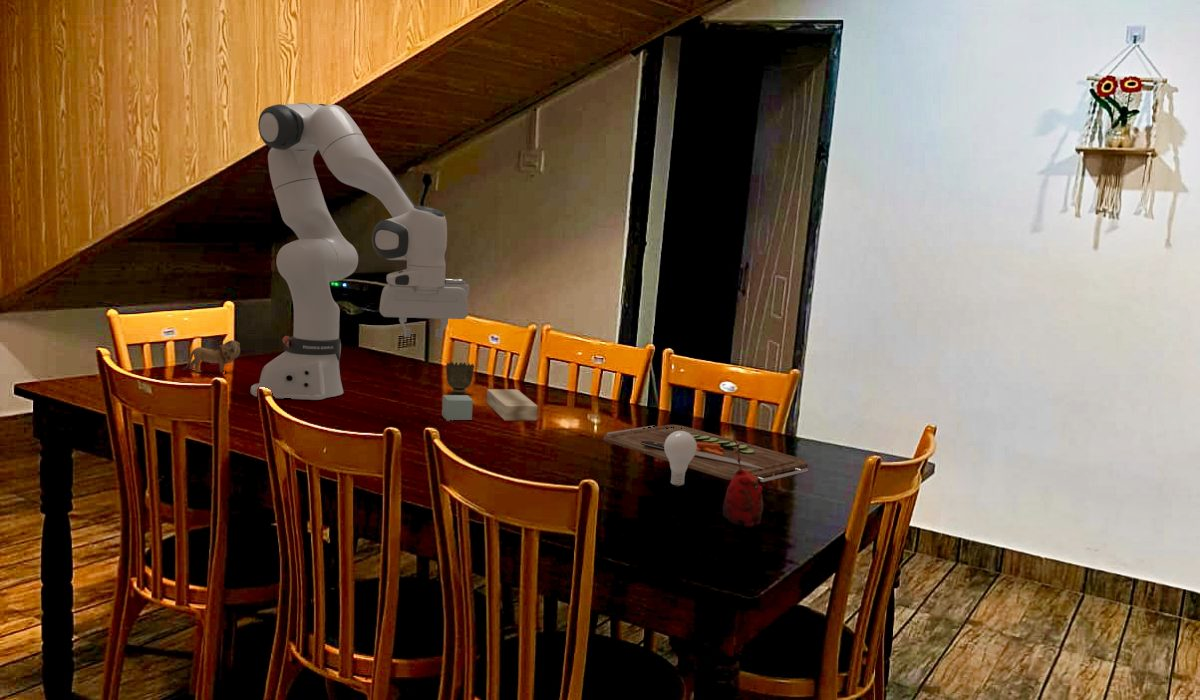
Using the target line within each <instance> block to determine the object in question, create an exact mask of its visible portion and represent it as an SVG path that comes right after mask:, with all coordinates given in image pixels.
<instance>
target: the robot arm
mask: <svg viewBox="0 0 1200 700" xmlns="http://www.w3.org/2000/svg"><path fill="white" fill-rule="evenodd" d="M257 126H258V127H257V128H258V133H259V135H260V139H261V140H262V141H263V143H264V144H265V145H266V146H268V147H270V149H269V151H268V154H267V163H268V172H269V176H270V180H271V186H272V189H273V193H274V196H275V198H276V203H277V206H278V208H279V212H280V215H281V219H282V221H283V222H284V224H285V225H286V226H287V227H289V228H290V229H291V230H292V231H293V233H294V234H295V235H296V237H297V238H298V239H296V240H293V241H291V242H290V241H289V243H286V244H284V245H283V246H281V248H280V249H279V250H278V253H277V255H276V263H275V264H276V268H277V271H278V273H279V274H280V276H281V277H282V278H283V280H284V281H285V282H286V283H287V285H288V288H289V291H290V292H289V293H290V296H291V300H292V304H293V335H292V336H289V335H285V336H284V337H282V339H281V340H282V343H283V344H284V352H282V353H281V354H279V355H277V357H275V358H273V359H272V360H271V361H269V362H267V363H266V364H265V365H264V366H263V368H262V370H261V373H260V378H259V383H254V384H253V385H251V387H250V394H251V395H252V396H254V397H256V398H258V397H257V389H258V387H265V388H268V389H270V390H271V391H272V393H273V396H274V397H275V398H274V399H284V398H291V399H292V400H310V401H319V400H324V399H327V398H332V397H337V396H341V395H343V394H344V389H343V384H342V380H341V374H340V360H341V354H342V353H341V350H342V342H341V338H340V316H341V315H340V314H341V313H340V312H341V309H340V307H339V304H338V303H337V302H336V301H335V300H334V298H333V295H332V292H331V286H330V283H332V282H337V281H342V280H344V279H346V278H348V277H349V276H351V275H352V274H354V273H355V271H356V269H357V268H358V264H359V255H358V252H357V249H356V248H355V247H354V245H353V244H352V243H350V242H349V241H348V240H347V239H346V238H345V237H344V236H343V234H342V233H341V230H340V229H339V228H338V225H337V224H336V222H335V221H334V220H333V218H332V216H331V213H330V212H329V209H328V206H327V203H326V201H325V198H324V194H323V192H322V188H321V185H320V182H319V179H318V176H317V172H316V169H315V165H314V157H315V155H316V154H318V155H321V158H322V159H323V161H324V163H325V165H326V167H327V168H328V170H329V171H330V172H331V174H332V175H333V176H334V177H335V178H336V179H337V180H338V181H339V182H341V183H342V184H345V185H347V186H350V187H352V188H356V189H358V190H362V191H364V192H366V193H369V194H370V195H372V196H374V197H375V198H377V199H378V200H379V201H380V202H381V204H382V205H383V206H384V207H385V209H386V210H387V211H388V213H389V215H391V218H388V219H384V220H380V221H379V222H377V224H375V226H374V228H373V230H372V234H371V244H372V245H371V246H372V248H373V250H374V251H375V253H376V255H377V256H378V257H380V258H382V259H385V260H389V261H406V268H404V269H402V270H398V271H393V272H389V273H388V274H386V278H385V279H386V282H387V284H386V285H384V287H383V288H382V291H381V295H380V301H379V313H380V315H381V316H382V317H384V318H398V321H399V323H400V325H401V327H402V329H403V337H404V338H411V337H412V334H411V333H412V329H411V328H407V326H406V323H407V320H408V319H409V318H411V319H412V318H413V319H414V318H415V319H440V323H441V325H440V327H439V328H437V329H435V331H434V332H435V334H434V335H435V336H434V337H435V338H438V339H439V338H440V339H442V338H444V337H443V334H444V330H445V329H446V328H447V327H448V324H449V319H450V320H465V319H467V318H468V316H469V302H468V301H469V300H468V297H469V296H470V295H471V294H470V290H471V287H470V284H469V283H468V282H467V281H465V280H464V279H462V278H459V279H457V278H456V279H455V278H454V279H453V278H446V267H447V266H446V265H447V263H446V260H445V259H446V258H445V257H446V255H445V253H446V251H447V248H448V247H447V246H448V245H447V244H448V225H447V218H446V216H445V213H444V212H442V211H441V210H439V209H437V208H434V207H430V206H429V207H428V206H423V205H416V204H415V202H414V201H413V200H412V198H411V196H410V195H409V194H408V192H407V191H406V190H405V189H404V187H403V185H402V184H401V183H400V181H399V180H398V178H397V177H396V175H394V174H393V173H392V171H391V170H390V169H389V167H387V166H386V165H385V164H384V162H383V161H382V160H381V159H380V158H379V156H378V155H377V154H376V152H375V151H374V149H373V148H372V147H371V145H370V144H369V142H368V140H367V138H366V137H365V135H364V134H363V132H362V130H361V128H360V127H359V126H358V125H357V123H356V122H355V121H354V119H353V118H352V117H351V116H350V114H349V113H348V112H347V111H346V110H345V109H344V108H343V107H342V106H340V105H336V104H324V103H318V104H317V103H311V102H298V103H289V104H274V105H270V106H268V107H266V108H264V109H263V110H262V111H261V113H260V115H259V117H258V123H257ZM407 318H408V319H407ZM291 399H290V400H291Z"/></svg>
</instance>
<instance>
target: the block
mask: <svg viewBox="0 0 1200 700" xmlns="http://www.w3.org/2000/svg"><path fill="white" fill-rule="evenodd" d="M473 405H474V400H473V399H472V398H471V397H470V396H469V395H467V394H466V395H465V394H462V395H457V394H454V395H452V394H443V395H442V407H441V408H442V409H441V416H442V417H443V418H444V420H445V419H446V420H445V421H446V422H453V420H473V407H474V406H473ZM450 420H452V421H450Z"/></svg>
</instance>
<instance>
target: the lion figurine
mask: <svg viewBox="0 0 1200 700" xmlns="http://www.w3.org/2000/svg"><path fill="white" fill-rule="evenodd" d="M240 354H241V347H240V342H238V341H236V340H233V339H232V340H229V341H226V342H225V343H222V344H220V345H218V346H217V347H216V348H214V349H212V348H211V349H210V348H206V347H195V348H194V349H193V350H192V351H191V353H190V355H189V359H188V362H187V364H186V366H184V367H183V368H181V370H182V371H186V370H188V368H189V370H190V369H195V371H196V373H197V372H202V373H203V371H202V370H200V369H199V367H200V364H201V361H202V360H204V361H205V362H207V363H210V364H218V365H219V373H220V372H224V370H225V364H230V363H232V362H233V361H234V360H235V359H237V358H238V357H239V356H240ZM192 359H193V360H192Z"/></svg>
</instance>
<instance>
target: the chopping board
mask: <svg viewBox="0 0 1200 700" xmlns="http://www.w3.org/2000/svg"><path fill="white" fill-rule="evenodd" d="M653 426H654V425H649V426H642V427H636V428H635V427H634V428H629V429H622V430H616V431H610V432H606V434H604V435H603V441H604V442H605V441H606V442H605V443H609V444H611V445H614V444H615V445H614V446H617V445H618V447H621V446H622V447H621V448H624V449H627V448H628V450H630V449H631V450H630V451H633V450H634V452H636V451H637V453H640V454H644V455H646V454H647V456H649V455H650V456H649V457H652V456H653V458H657V459H659V460H663V461H666V462H668V463H670V462H669V460H668V458H667V456H666V454H665V451H664V444H665V440H666V439H667V437H668V436H669V435H670V434H671V433H673V432H675V431H685V432H688V433H690V434H691V435H692V436H693V437H694V439H695V441H696V444H697V451H696V454H695V456H694V457H693V459H692V460H691V461H690V463H689V464H688V467H687V469H691V470H694V471H698V472H701V473H704V474H707V475H711V476H714V477H717V478H721V479H722V480H723V479H724V480H726V481H727V480H728V481H732V479H733V477H734V476H735V474H736V472H737V471H738V470H739V463H738V461H737V459H738V452H737V454H735V453H734V448H737V447H736V443H735V441H734V439H733V438H729V437H725V436H721V435H717V434H714V433H711V432H706V431H703V430H699V429H697V428H692V427H688V426H685V425H680V424H665V425H659V426H655V427H653ZM648 427H651V428H648ZM671 427H672V428H671ZM673 427H674V428H673ZM643 428H645V429H643ZM666 428H668V429H666ZM681 428H682V429H681ZM631 430H632V431H631ZM736 441H737V443H738V444H741V443H742V442H743V441H740V440H739V441H738V440H736ZM731 445H735V446H731ZM737 451H738V450H737ZM739 456H740V458H742V459H741V460H740V465H741V469H742V470H744V471H749V472H751V475H753V476H756V477H757V478H758V480H759V482H761V483H765V482H769V481H774V480H777V479H778V480H779V479H782V478H787V477H791V476H795V475H799V474H803V473H808V472H809V469H808V468H807V465H808V464H807V461H808V460H805V459H803V458H800V457H797V456H793V455H790V454H787V453H783V452H779V451H776V450H772V449H768V448H764V447H761V446H758V445H753V444H751V443H750V444H749V443H746V442H743V444H741V445H740V446H739ZM793 470H794V471H793ZM773 475H774V476H773Z"/></svg>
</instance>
